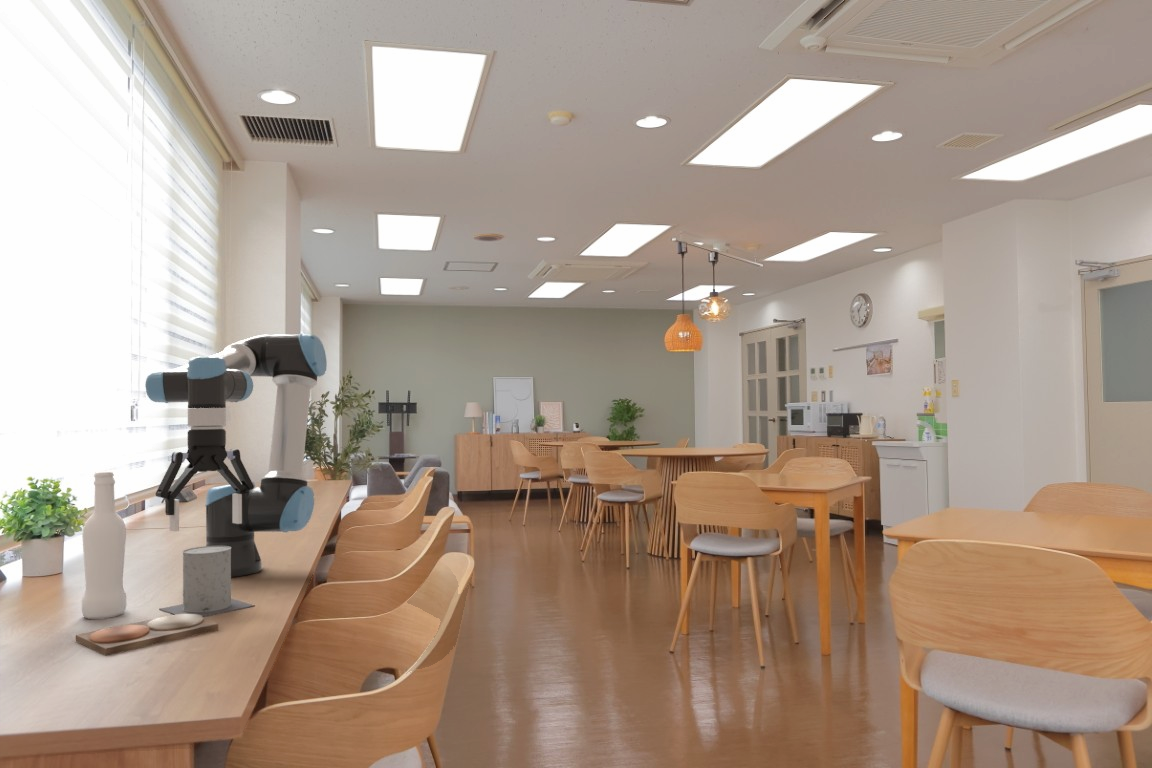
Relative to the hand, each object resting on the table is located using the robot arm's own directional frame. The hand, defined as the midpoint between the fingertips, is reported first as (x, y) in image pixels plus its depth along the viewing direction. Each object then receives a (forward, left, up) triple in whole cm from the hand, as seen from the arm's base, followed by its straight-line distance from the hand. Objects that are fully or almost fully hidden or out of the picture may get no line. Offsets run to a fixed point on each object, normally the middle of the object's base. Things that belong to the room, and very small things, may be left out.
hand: (206, 527), depth 173 cm
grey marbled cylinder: (0, 0, -17) cm, 17 cm away
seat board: (+17, +12, -17) cm, 27 cm away
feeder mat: (0, 0, -17) cm, 17 cm away
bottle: (+16, -12, -18) cm, 27 cm away
